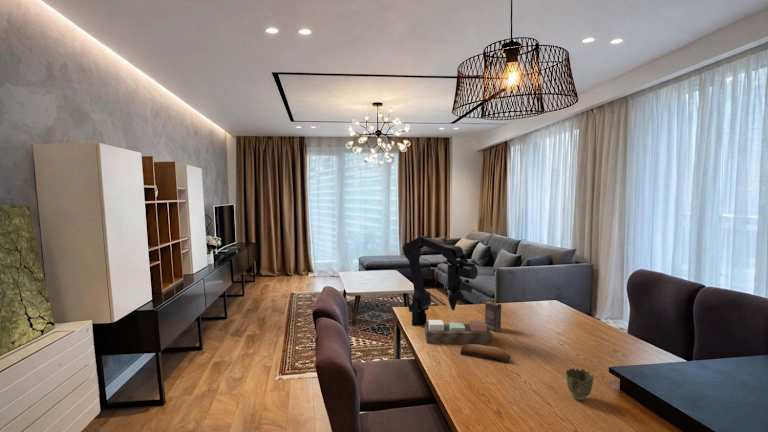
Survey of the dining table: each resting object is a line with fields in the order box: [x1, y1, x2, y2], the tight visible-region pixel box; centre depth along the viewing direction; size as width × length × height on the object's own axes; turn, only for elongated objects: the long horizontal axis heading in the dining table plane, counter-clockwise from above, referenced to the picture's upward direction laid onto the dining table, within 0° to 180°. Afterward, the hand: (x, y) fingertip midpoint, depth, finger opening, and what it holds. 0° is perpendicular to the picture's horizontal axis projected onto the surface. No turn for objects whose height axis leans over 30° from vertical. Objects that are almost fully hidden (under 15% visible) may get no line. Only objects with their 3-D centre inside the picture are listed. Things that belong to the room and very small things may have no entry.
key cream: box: [428, 319, 445, 331], centre depth 159 cm, size 6×6×4 cm
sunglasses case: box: [460, 344, 511, 363], centre depth 142 cm, size 18×7×7 cm
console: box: [424, 322, 492, 345], centre depth 159 cm, size 27×11×4 cm, turn 88°
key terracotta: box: [469, 319, 487, 331], centre depth 158 cm, size 6×6×4 cm
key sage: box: [448, 322, 465, 331], centre depth 159 cm, size 6×6×4 cm
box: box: [484, 301, 502, 332], centre depth 170 cm, size 6×4×12 cm
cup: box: [565, 367, 595, 402], centre depth 112 cm, size 8×7×8 cm
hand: (452, 310), depth 162 cm, fingers closed
